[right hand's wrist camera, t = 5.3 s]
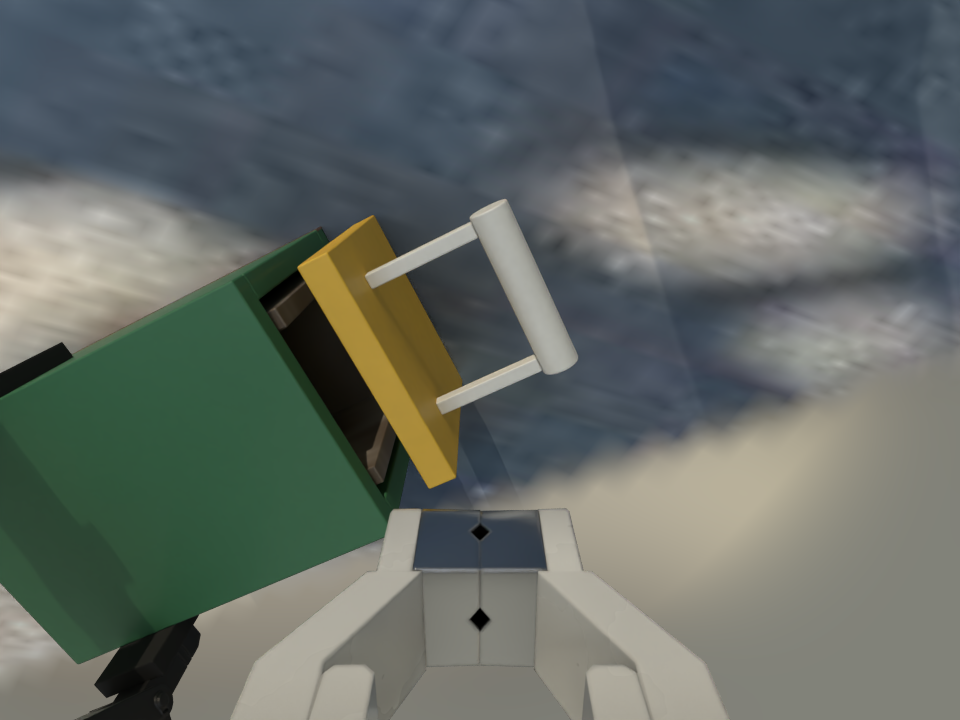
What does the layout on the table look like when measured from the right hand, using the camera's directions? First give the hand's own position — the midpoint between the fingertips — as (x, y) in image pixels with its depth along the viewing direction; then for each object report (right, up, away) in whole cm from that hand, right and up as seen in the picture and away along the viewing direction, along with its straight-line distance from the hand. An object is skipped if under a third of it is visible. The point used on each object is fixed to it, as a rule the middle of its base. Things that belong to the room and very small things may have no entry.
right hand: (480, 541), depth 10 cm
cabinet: (-12, +2, +23) cm, 26 cm away
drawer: (-6, +5, +21) cm, 22 cm away
